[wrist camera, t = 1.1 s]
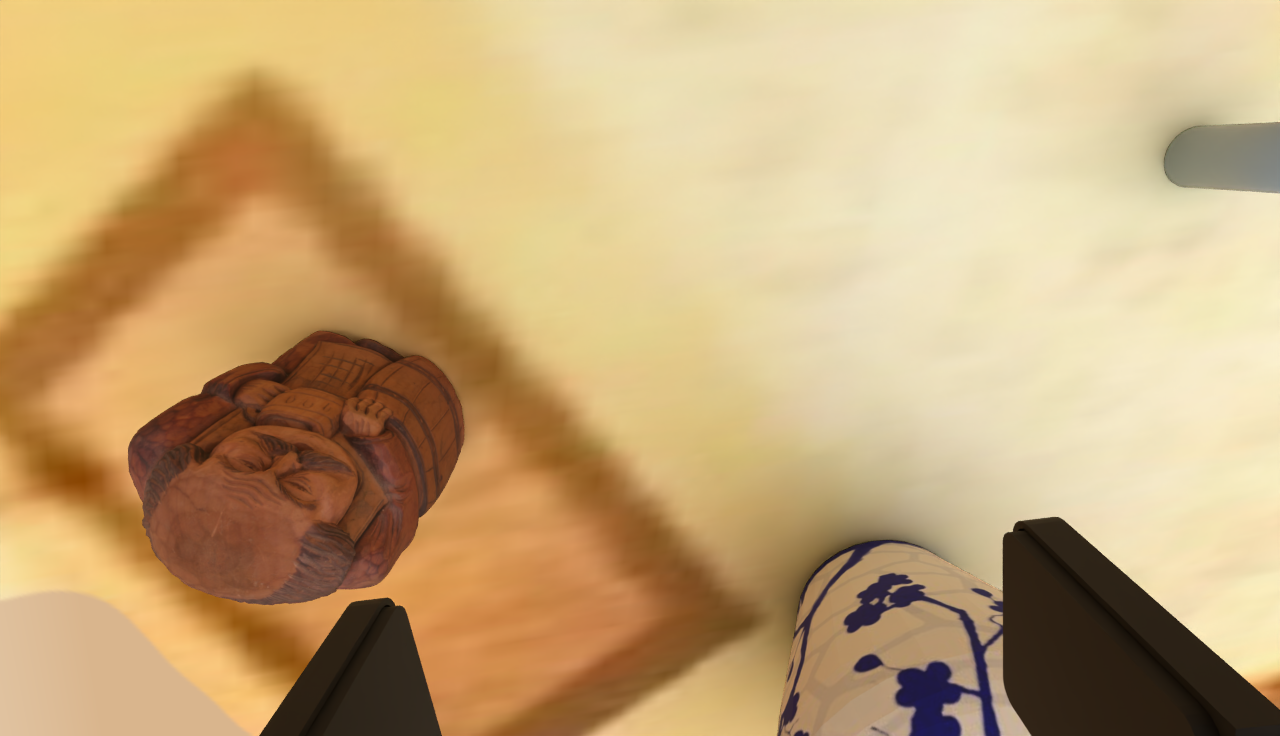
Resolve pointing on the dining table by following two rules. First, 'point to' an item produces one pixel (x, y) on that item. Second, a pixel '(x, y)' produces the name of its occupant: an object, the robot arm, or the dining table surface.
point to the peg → (1226, 157)
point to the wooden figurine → (298, 470)
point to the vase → (897, 649)
